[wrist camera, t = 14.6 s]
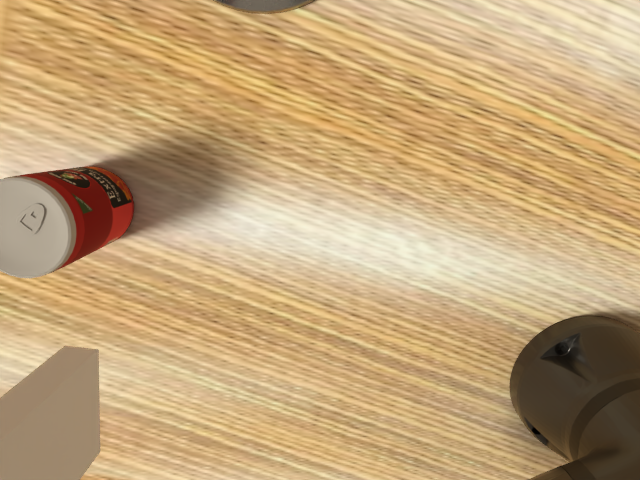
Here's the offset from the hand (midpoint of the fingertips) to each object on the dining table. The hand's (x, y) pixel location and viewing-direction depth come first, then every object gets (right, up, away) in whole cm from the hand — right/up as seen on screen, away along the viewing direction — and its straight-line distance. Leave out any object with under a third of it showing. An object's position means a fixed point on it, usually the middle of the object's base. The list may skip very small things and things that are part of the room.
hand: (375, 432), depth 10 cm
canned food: (-23, +8, +33) cm, 41 cm away
